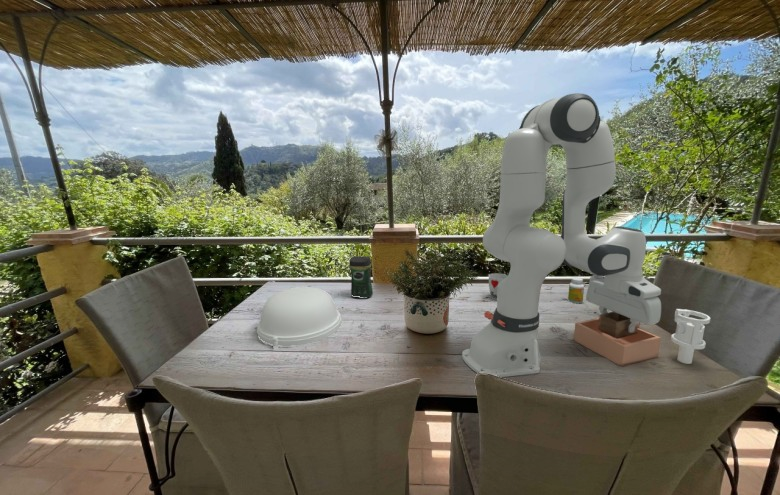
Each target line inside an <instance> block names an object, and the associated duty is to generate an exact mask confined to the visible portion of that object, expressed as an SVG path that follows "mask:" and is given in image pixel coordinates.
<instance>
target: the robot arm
mask: <svg viewBox="0 0 780 495" xmlns="http://www.w3.org/2000/svg"><path fill="white" fill-rule="evenodd" d="M552 145H554V146H555V145H560V146H561V147H562V149H563V151H564V153H565V166H566V185H565V189H564V191H563V193H562V204H561V207H562V208H561V235H560V236H559V235H558V234H556V233H554V232H551V231H550V230H547V229H545V228H539V227H534V226H530V222H531V218H532V216H533V214H534V212H535V210H538V209H539V208H540V207H542V206H543V204H544V202H545V199H546V184H547V183H546V181H547V180H546V178H547V175H546V174H547V157H548V153H549V150H550V148H551V146H552ZM616 169H617V168H616V155H615V147H614V142H613V137H612V133H611V130H610V127H609V124H607V123H606V122H605V121H603V120H601V116H600V111H599V108H598V105H597V103H596V101H595V100H594V99H593V98H592V97H591V96H590V95H588V94H585V93H576V92H575V93H569V94H566V95H564V96H561V97H560V96H559V97H556V98H552V99H549V100H546V101H544V102H542V103H540V104H538V105H535V106H534V107H532V108H531V109H530V110H529V111H528V112H527V113H526V114H525V115H524V117H523V119H522V120H521V123H520V126H519V128H518V129H516V130H514V131H513V130H512V132H510V133H508V135H507V137H506V138H505V139H504V145H503V149H502V156H501V163H500V183H499V184H500V188H499V201H498V208H497V210H496V211H497V212H496V214H495V217H494V219H493V221H492V223H491V225H489V226H488V227H487V228H486V230H485V231H484V233H483V236H482V245H483V248H484V249H485V251H487V253H489V254H491V256H492V257H495V258H496V259H498V260H501V261H503V262H506V263H510V264H509V265H510V268H509V269H510V270H509V273H508V274H507V276H508V277H506V278H504V279H503V280H501V281H500V282H499V284H498V290H497V300H496V308H495V309H494V311H493V313H492V312H490V311H489V310H487V311H485V312H484V314H483V316H484V317H485V318H486V319H488V320H490V322H489V323H488V324H486V325H485V326H484V327H483V328H482V329H481V330H479V332H477V333H476V334H475V335H473V336H472V339H471V342H470V347H469V348H467V349H464V350H462V353H461V357H462V360H463V361H464V362H465V364H466V365H467V366H468V367H469V368H470V369H471V370H473V371H474V372H475V373H477V374H478V372H484V373H490V374H494V375H497V376H500V377H499V378H506V377H514V376H525V375H534V374H539V373H540V371H541V368H540V364H541V363H542V357H541V354H540V349H539V336H538V328H539V326H540V312H539V303H540V295H541V289H542V285H543V283H544V281H545V280H546V278H547V276H548V275H549V274H550V273H551V272H553V271H556V270H557V269H558V268H559V267H560V266H562V264H565V265H566V266H569V267H572V268H577V269H579V270H581V271H583V272H586V273H590V274H591V275H590V277H589V282H588V283H589V284H588V287H587V289H586V296H585V297H586V298H585V299H586V301H587V302H588V303H590V304H592V305H596V306H598V309H599V312H600V315H601V314H605V313H609V312H608V311H610V312H616V313H618V314H621V315H623V316H626V317H628V318H630V322H632V323H631V324H629V325H626V329H625V330H626V331H628V332H630V333H632V332H634V331H635V326H637V325H638V324H639V323H640V324H644V325H646V326H651V325H655V324H658V323H659V322H660V321H661V315H662V302H661V299H660V298H659V297H658V296H661V294H662V288H660V287H659V286H657V285H655V284H653V282H650V280H647V279H646V278H645V277H643V275H644V274H643V272H644V271H643V264H644V262H645V260H646V259H645V258H646V250H647V249H646V248H647V239H646V234H645V233H644V232H643V231H642V230H640V229H638V228H633V227H629V226H622V225H621V226H614V227H612V228H611V230H610V232H608V233H607V234H605V235H603V236H601V237H599V238H596V239H595V238H592V237H589V236H588V234H587V232H586V230H585V227H586V209H587V207H588V204H589V202H591V201H592V200H594V199H597V198H598V197H600V196H603V195H604V194H606V192H608V191H609V190H610V189H611V187H612V186H613V185H614V183H615V178H616V172H617V171H616Z"/></svg>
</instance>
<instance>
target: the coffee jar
mask: <svg viewBox="0 0 780 495" xmlns="http://www.w3.org/2000/svg"><path fill="white" fill-rule="evenodd" d="M348 265H349V266H348V267H349V268H348V269H349V270H350V276H351V278H350V281H351V282H350V283H351V284H350V285H351V286H350V296H351V295H353V296H360V297H369V296H371V295H372V296H373V294H374V293H373V292H374V291H373V286H372V284H373V283H372V279H371V267H372V261H371V257H370V256H361V255H360V256H352V257H350V258H349V263H348ZM372 296H371V297H372ZM369 298H370V297H369Z"/></svg>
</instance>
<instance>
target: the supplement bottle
mask: <svg viewBox="0 0 780 495" xmlns="http://www.w3.org/2000/svg"><path fill="white" fill-rule="evenodd" d="M583 283H584V279H583V278H581V277H576V276H575V277H572V278H571V282H569V285H568V294H567V295H568V296H567V301H568V302H570V303H573V304H581V303H583V301H584V294H585V293H584V292H585V285H584V284H583Z"/></svg>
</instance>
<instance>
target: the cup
mask: <svg viewBox="0 0 780 495" xmlns="http://www.w3.org/2000/svg"><path fill="white" fill-rule="evenodd" d="M506 277H508V274H504V273H496V272H495V273H489V274H488V287H489V293H490V298H491V299H492V300H494V301H497V290H498V284H499V282H500V281H501V280H503V279H504V278H506Z"/></svg>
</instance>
